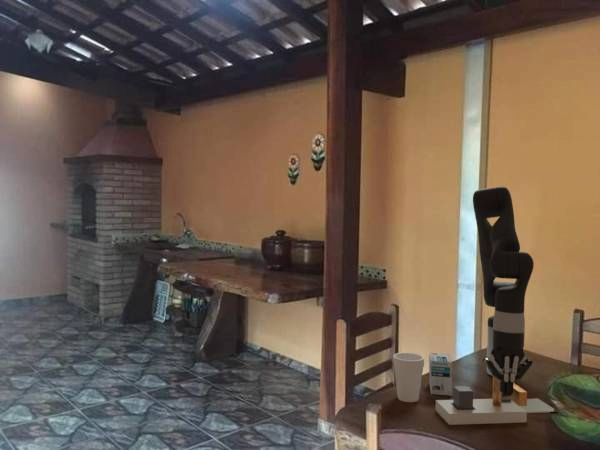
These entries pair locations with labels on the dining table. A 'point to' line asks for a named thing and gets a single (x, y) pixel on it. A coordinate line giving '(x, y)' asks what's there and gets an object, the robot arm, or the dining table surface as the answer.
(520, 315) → the robot arm
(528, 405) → the mat
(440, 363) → the light bulb box
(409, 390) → the foam cup
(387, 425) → the dining table surface
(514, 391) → the orange lever handle
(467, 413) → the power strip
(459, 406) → the plug
